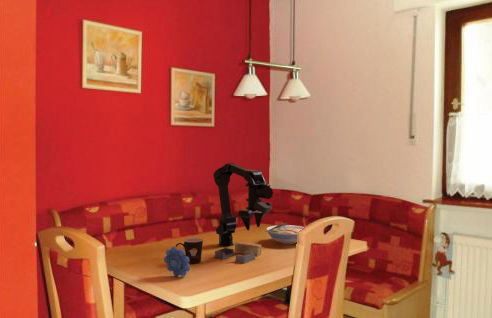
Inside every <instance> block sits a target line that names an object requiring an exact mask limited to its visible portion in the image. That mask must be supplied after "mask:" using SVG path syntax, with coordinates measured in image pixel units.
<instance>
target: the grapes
mask: <svg viewBox="0 0 492 318" xmlns="http://www.w3.org/2000/svg"><path fill="white" fill-rule="evenodd" d="M184 255H185V250H184V249H182V248H181V249H178V247H177V248H176V246H172V247H171V248H170V249H169V248H167V249H166V250H165V256H164V258H163V261H164V263H166V264H167V265H166V269H167V271H169V272H172V274H173V275H174V276H175V277H179V276H181V277H186V275H187V272H190V271H191V267H190V264H188V263H189V261H190V260H189V258H188V257H187V256H184Z"/></svg>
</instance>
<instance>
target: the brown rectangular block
mask: <svg viewBox="0 0 492 318" xmlns="http://www.w3.org/2000/svg"><path fill="white" fill-rule="evenodd" d="M245 251H246V252H252V253H255V257H259V256H262V244H257V243H253V242H245V241H241V240H240V241H236V242H234V254H240V255H244V252H245Z"/></svg>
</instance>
